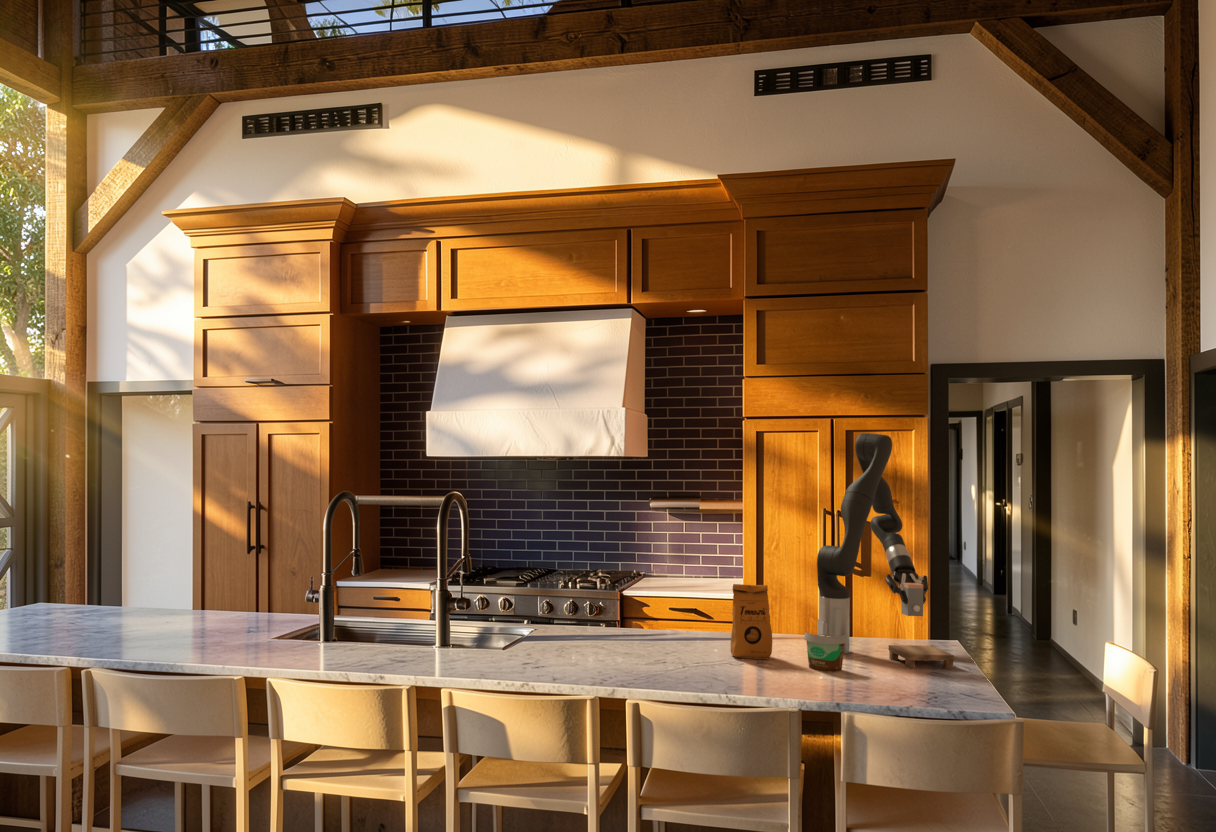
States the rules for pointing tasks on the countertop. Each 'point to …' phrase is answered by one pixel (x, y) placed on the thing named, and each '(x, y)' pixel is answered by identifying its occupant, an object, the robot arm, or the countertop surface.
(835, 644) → the food container
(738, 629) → the coffee package
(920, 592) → the block
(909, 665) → the walnut stand
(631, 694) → the countertop surface
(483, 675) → the countertop surface
